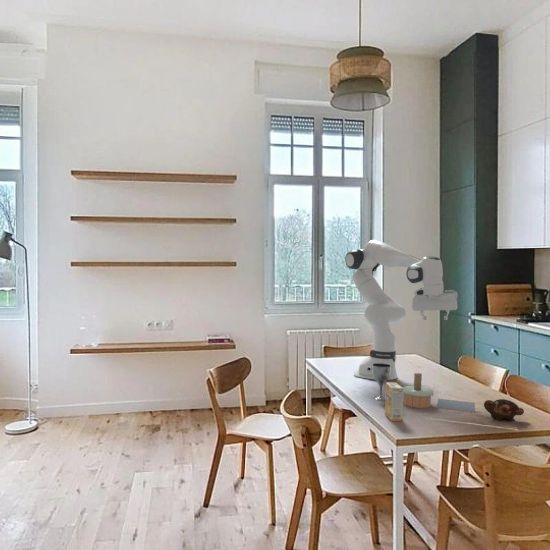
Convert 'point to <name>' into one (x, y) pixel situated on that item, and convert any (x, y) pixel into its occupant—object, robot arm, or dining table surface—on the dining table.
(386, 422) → the dining table surface
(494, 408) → the decorative turtle
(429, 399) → the bowl
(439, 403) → the mat
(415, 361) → the dining table surface
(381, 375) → the wine glass
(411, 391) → the lid
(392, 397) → the supplement box
